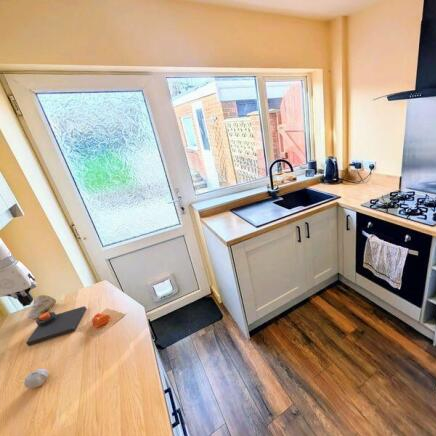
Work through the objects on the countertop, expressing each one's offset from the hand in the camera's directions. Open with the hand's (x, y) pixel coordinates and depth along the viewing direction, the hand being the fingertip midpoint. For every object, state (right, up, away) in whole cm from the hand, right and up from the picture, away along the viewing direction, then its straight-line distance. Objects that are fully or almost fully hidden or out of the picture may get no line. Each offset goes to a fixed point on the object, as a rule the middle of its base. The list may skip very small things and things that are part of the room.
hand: (28, 303), depth 93 cm
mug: (-11, -10, +17) cm, 23 cm away
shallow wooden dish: (+22, -11, +8) cm, 26 cm away
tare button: (-2, -9, +9) cm, 13 cm away
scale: (+4, -12, +8) cm, 15 cm away
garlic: (+19, -21, -14) cm, 31 cm away
